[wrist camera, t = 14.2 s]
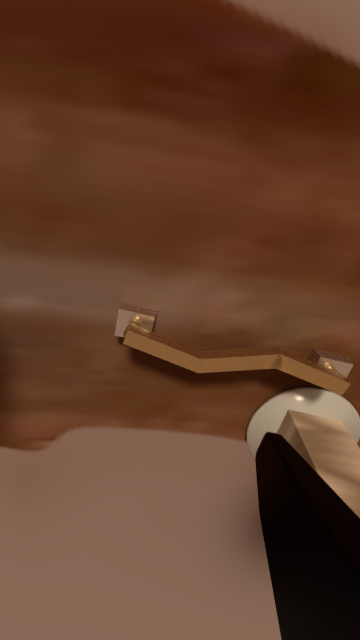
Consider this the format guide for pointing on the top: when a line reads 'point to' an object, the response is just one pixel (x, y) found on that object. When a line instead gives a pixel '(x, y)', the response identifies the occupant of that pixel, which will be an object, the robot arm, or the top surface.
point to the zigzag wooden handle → (230, 354)
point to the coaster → (300, 401)
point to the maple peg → (326, 452)
